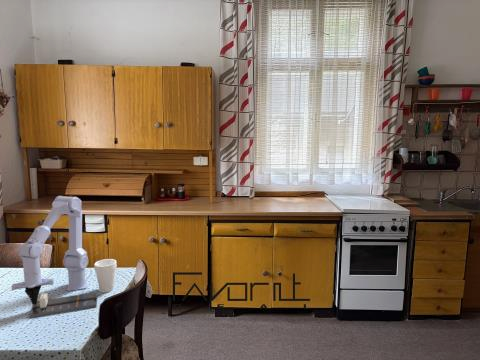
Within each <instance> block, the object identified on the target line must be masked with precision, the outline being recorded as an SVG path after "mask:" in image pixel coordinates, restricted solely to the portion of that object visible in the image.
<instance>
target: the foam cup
mask: <svg viewBox="0 0 480 360" xmlns="http://www.w3.org/2000/svg"><path fill="white" fill-rule="evenodd" d="M117 266H118V265H117V260H116V259H114V258H107V259H106V258H104V259H100V260H97V261H96V262H95V263H94V271H95V274H96V279H97V286H98V289H99V292H100V293H110V292H113V290H114V289H115V283H116V275H117V273H116V272H117Z"/></svg>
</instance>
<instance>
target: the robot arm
mask: <svg viewBox="0 0 480 360" xmlns="http://www.w3.org/2000/svg"><path fill="white" fill-rule="evenodd" d="M51 206H52V208H51V209H50V211H49V212H48V215H47V216H46V218H45V220H44V221H43V223H42V225H39V226H36V227H35V228H34V230H33V232H32V234H30V237H29V238H28V239H27V241H26V242H24V243H22V244H21V245H20V247H19V249H18V251H17V253H18V255H19V257H20V258H21V261H22V268H23V279H24V281H22V282H21V281H20V282H16V283H12V284H11V291H16V290H21V289H24V292H25V294H26V295H27V297H28V298H29V299H30V302H31V304H32V305H31V306H33V305H35V304H37V301H38V298H39V295H40V291H41V288H42V286H49V285H50V286H53V285H54V284H55V279H54V278H42V274H41V262H40V261H41V260H40V256H41V255H42V254H43V252H44V251H43V250H44V249H43V248H44V244H45V242H46V241H47V240H48V238H49V237H50V235H51V229H52V227H53V226H54V225H55V223H56V222H57V221H58V220H59V218H60V217H61V215H65V214H66V215H67V216H68V249H67V250H66V251H65V252H64V257H63V259H62V264H63V266H64V267H65V268H66V270H67V278H68V279H67V280H68V285H67V290H66V291H67V292H71V291H77V290H85V289H87V287H88V286H87V285H88V279H86V269H87V266H88V265H89V258H88V252H87V251H86V250H85V249H84V248H83V210H82V200H81V198H79V197H77V196H63V195H58V196H56V197H55V199H54V200H53V202H52V203H51Z"/></svg>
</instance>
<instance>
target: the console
mask: <svg viewBox="0 0 480 360" xmlns="http://www.w3.org/2000/svg"><path fill="white" fill-rule="evenodd" d="M97 302H98V291H95V292H89V293H82V294H76V295H68V296H63V297H55V298H48V303H47V306H46V307H44V308H40V300H37V304H35V305H32V307H31V309H32V310H31V312H30V314H29V318H30V319H33V318H38V317H46V316H50V315H58V314H62V313H68V312H73V311H75V312H76V311H79V310H80V311H81V310H87V309H92V308H97V305H98V303H97Z"/></svg>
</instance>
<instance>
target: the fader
mask: <svg viewBox="0 0 480 360" xmlns="http://www.w3.org/2000/svg"><path fill="white" fill-rule="evenodd" d="M48 299H49V297H48V293H47V292H46V293H41V294H40V298H39V301H40V308H44V307H46V306H47V303H48Z"/></svg>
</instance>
